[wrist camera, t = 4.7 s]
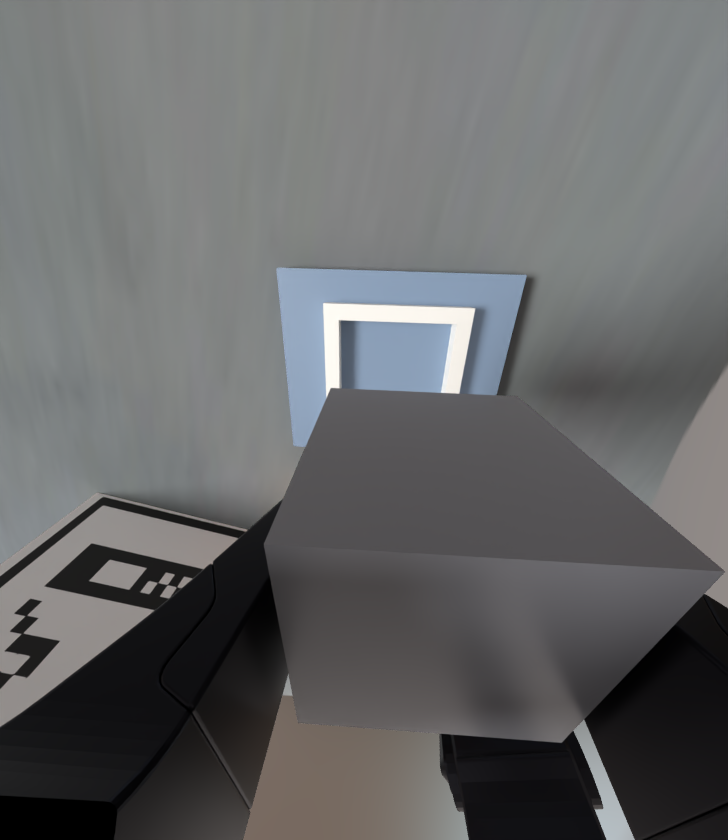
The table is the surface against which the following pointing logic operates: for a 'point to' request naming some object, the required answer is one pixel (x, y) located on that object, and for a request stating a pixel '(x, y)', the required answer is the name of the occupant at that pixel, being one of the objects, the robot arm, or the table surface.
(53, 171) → the table surface
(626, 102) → the table surface
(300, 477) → the charcoal cube
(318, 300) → the board
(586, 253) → the table surface
